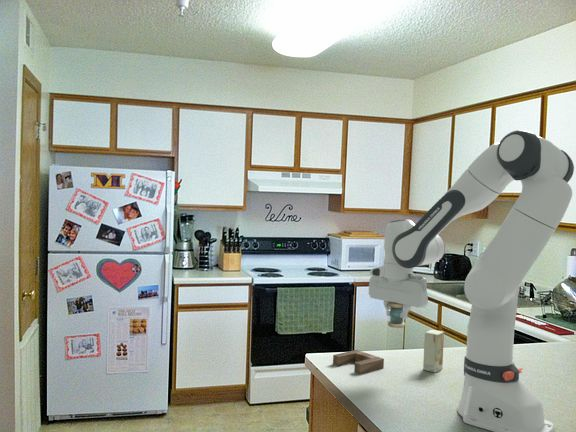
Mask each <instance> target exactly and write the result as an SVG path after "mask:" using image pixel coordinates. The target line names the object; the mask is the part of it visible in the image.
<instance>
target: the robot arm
mask: <svg viewBox="0 0 576 432" xmlns="http://www.w3.org/2000/svg"><path fill="white" fill-rule="evenodd" d="M574 173H575V165H574V162H573V159H572V158H571V156H570V155H569V154H568V153H567V152H565V151H564V150H562V149H560V148H559V147H558V146H556V145H555V144H554V143H552V141H550V140H548V139H546V138H543V137H541V136H539V135H536V133H534V132H532V131H528V130H522V129H521V130H513V131H511V132H509V133H507V134H506V135H504V137H503V138H502V139H501V140H500V141H499V142H495V143H493V144H491V145H489V147H488V148H486V149H485V150H483V152H481V153H480V154H479V155H478V156H477V157H476V158H475V159H474V160H473V161H472V163H471V164H469V166H468V167H467V168H466V169H465V170H464V171H463V172H462V174H461V175H460V176H459V177H458V179H457V180H456V181H455V182H454V184H453V185H452V186H451V187H449V189H448V190H447V191H446V192H445V193H444V194H443V196H442V197H440V198H439V199H438V200H437V201H436V202H435V203H434V204H433V206H432V207H431V208H430V209H429V210H428V211H426V213H424V215H423V216H422V217H420V219H419V220H418V221H417V222H416V223H414V221H413V220H411V219H408V218H406V219H395V220H391V221H389V222H388V223H387V225H386V228H385V230H384V231H385V233H384V239H383V241H384V244H383V245H384V246H383V248H384V259H383V265H380V266H378V267H373V268H371V269H370V271H369V273H370V274H369V275H370V276H371V277H369V282H368V295H369V297H370V298H371V299H375V300H381V301H383V306H384V308H385V310H386V313H385V314H386V316H388V317H390V309H391V307H389V302H394V303H399V304H403V312H402V313H400V319H403V320H407V319H408V313H409V312H410V310H411V309H412V307H415V308H418V309H419V308H426V307H427V305H428V303H429V299H428V287H427V286H428V282H427V280H426V278H424V276H422V275H421V274H420V275H418V274H417V275H416V274H414V268H417V267H420V266H426V265H432V264H435V263H437V262H439V261H440V260H441V259H442V258H443V256H444V255H445V253H446V252H445V251H446V246H445V242H444V239H443V238H442V236H441V235H440V233H441V232H443V231H444V230H445V228H446V227H448V225H450V224H451V223H452V222H453V221H455V220H457V219H458V218H461V217H463V216H466V215H468V214H472V213H476V212H479V211H482V210H484V209H485V208H486V207H488V206H489V205H490V204H491V203H492V202H494V201H495V200H496V199H497V198H498V197H499V195H501V193H502V192H503V191H504V190H505V189H506V188H507V186H509V184H510V183H512V182H513V181H520V183H521V186H522V188H521V191H520V194H519V196H518V197H517V199H516V201H515V202H514V204H513V206H512V207H511V209H510V211H509V212H508V213H507V215H506V217H505V219H504V220H503V222H502V223H501V225H500V226H499V228H498V230H497V231H496V233H495V234H494V236H493V238H492V239H491V241H490V242H489V243H488V245H487V246H486V247H485V248H484V250H483V252H482V253H481V254H480V256H479V258H478V259H477V260H476V261H475V263H474V264H473V266H472V267H471V269H470V271H469V273H468V274H467V276H466V278H465V281H464V286H463V289H464V294H465V297H466V298H467V300H468V302H469V303H471V309H470V314H469V320H468V323H467V324H468V325H467V330H466V331H467V333H466V335H467V336H466V354H465V356H464V361H463V375H464V379H463V385H462V386H463V387H462V391H461V395H460V399H459V404H458V405H457V408H456V411H457V413H458V414H459V416H461V418H462V422H463V423H465V424H468V425H470V426H474V427H477V428H480V429H484V430H488V431H491V432H554V429H555V426H554V423H553V422H551V421H549V420H547V419H545V415H544V414H545V413H544V407H543V404H542V401H541V399H540V398H539V397H537V396H536V395H535V394H534V393H533V391H531V390H530V389H529V388H528V387H527V386H526V385H525V384H524V383H523V382H522V381H521V379H520V374H521V373H523V367H521V368H517V366H516V364H515V363H514V361H513V360H514V343H515V342H514V341H515V340H514V338H515V328H516V327H515V326H516V320H517V310H518V299H519V290H520V284H521V283H522V281H523V280H524V278H525V277H526V275H527V274H528V273H529V271H530V270H531V268H532V266H533V265H534V263H536V261H537V259H538V258H539V256H540V255H541V254H542V252H543V251H544V249H545V247H546V246H547V244H548V242H549V241H550V239H551V238H552V236H553V235H554V233H555V231H556V230H557V228H558V227H559V225H560V223H561V222H562V219H563V218H564V216H565V214H566V212H567V209H568V207H569V205H570V203H571V200H572V197H573V189H572V186H570V184H569V182H570V180H571V179H572V177H573V175H574Z"/></svg>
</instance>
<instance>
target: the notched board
mask: <svg viewBox="0 0 576 432" xmlns="http://www.w3.org/2000/svg"><path fill="white" fill-rule="evenodd" d="M353 363H354V371H353V372H354V373H356V374H359V375H363V374H367V373H371V372H375V371H378V370H382V369H384V365H385V358H383V357H380V356H376V355H373V354H370V353H368V352H364V351H361V350H358V349H354V350H350V351H346V352H340V353H336V354H333V356H332V364H333V366H334V365H335V366H336V367H341V366H344V365H348V364H353Z"/></svg>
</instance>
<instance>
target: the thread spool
mask: <svg viewBox="0 0 576 432" xmlns="http://www.w3.org/2000/svg"><path fill="white" fill-rule="evenodd" d="M389 307H391V309H390V316H389V317H390V318H389V321H387V326H388V327H390V328H393V329H394V328H395V329H397V328H398V329H400V328H401V329H402V328H405V327H406V323H405V322H404V319H400V313H402V312H403V310H404V308H403V304H399V303H394V302H389Z"/></svg>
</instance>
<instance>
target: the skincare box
mask: <svg viewBox="0 0 576 432" xmlns="http://www.w3.org/2000/svg"><path fill="white" fill-rule="evenodd" d="M444 337H445V332H444V331H442V330H436V329H430V330H427V331H425V332H424V343H423V344H424V345H423V346H424V347H423V361H422V364H423V365H422V371H428V372H430V373H437V372H439V371H440V370H442V369H443V364H444V363H443V362H444V341H445V340H444Z"/></svg>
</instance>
